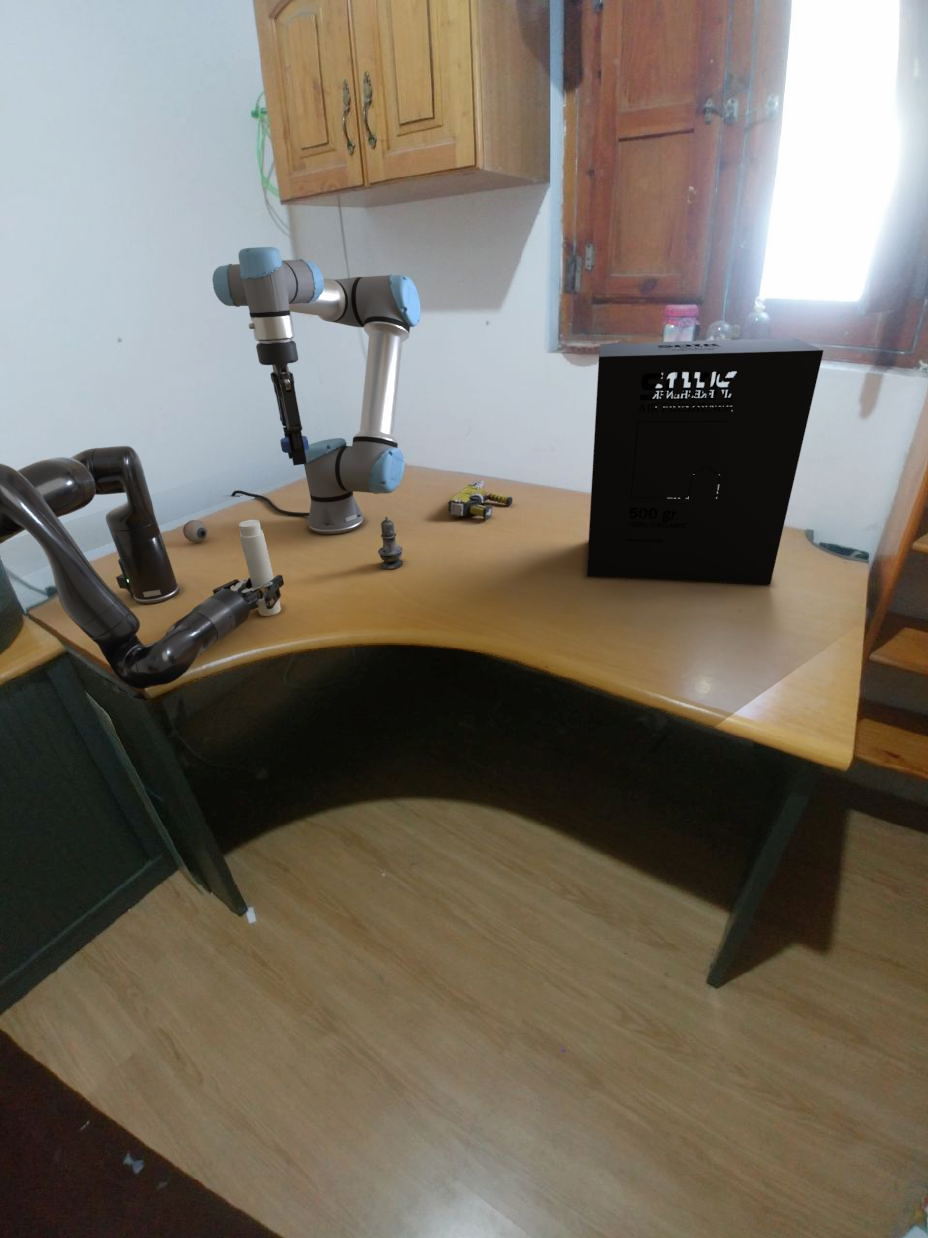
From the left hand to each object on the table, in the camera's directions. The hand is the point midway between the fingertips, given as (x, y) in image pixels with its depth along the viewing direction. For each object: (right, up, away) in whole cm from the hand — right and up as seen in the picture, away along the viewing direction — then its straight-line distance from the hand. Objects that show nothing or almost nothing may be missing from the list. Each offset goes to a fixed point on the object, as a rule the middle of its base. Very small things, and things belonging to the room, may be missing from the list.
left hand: (270, 577), depth 126 cm
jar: (0, -7, +1) cm, 7 cm away
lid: (+5, +29, 0) cm, 29 cm away
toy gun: (+47, +24, +50) cm, 72 cm away
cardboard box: (+88, +4, +12) cm, 89 cm away
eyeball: (-31, +12, +37) cm, 50 cm away
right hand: (+5, +25, +2) cm, 26 cm away
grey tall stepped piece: (+23, +4, +18) cm, 30 cm away
